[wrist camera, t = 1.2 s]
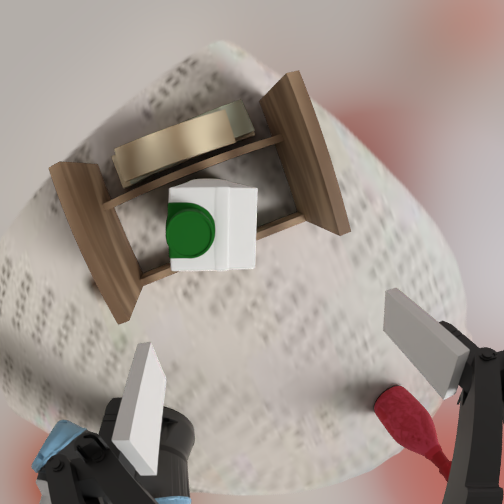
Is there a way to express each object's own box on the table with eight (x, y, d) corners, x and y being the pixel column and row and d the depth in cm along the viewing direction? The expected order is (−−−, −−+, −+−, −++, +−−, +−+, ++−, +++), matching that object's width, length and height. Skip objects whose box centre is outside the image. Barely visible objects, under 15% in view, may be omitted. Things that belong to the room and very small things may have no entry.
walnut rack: (137, 282, 45) (118, 324, 31) (89, 168, 39) (48, 167, 26) (308, 214, 47) (350, 231, 34) (268, 98, 41) (298, 70, 28)
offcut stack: (127, 189, 41) (117, 192, 36) (113, 155, 40) (102, 152, 34) (253, 138, 43) (262, 133, 37) (240, 104, 41) (247, 94, 35)
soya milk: (175, 178, 42) (160, 181, 23) (238, 178, 44) (272, 181, 25) (176, 238, 44) (163, 286, 25) (236, 237, 46) (267, 283, 27)
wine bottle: (368, 399, 61) (436, 488, 32) (402, 376, 61) (477, 454, 33) (375, 419, 64) (434, 500, 35) (406, 398, 64) (471, 471, 36)
